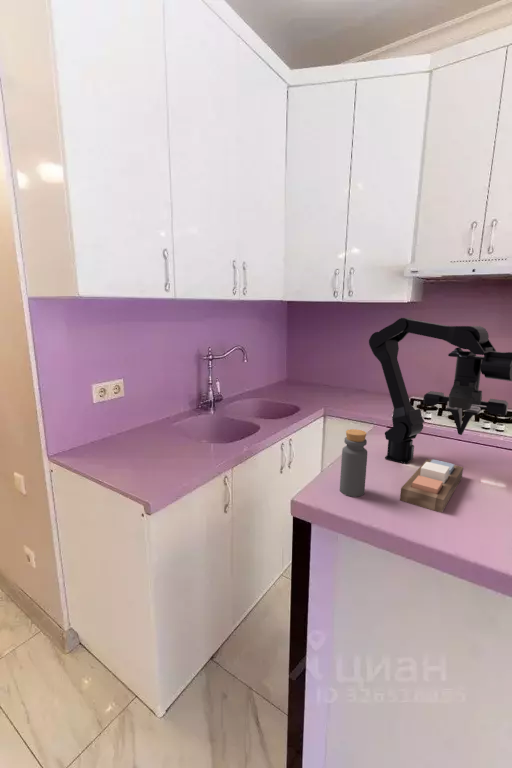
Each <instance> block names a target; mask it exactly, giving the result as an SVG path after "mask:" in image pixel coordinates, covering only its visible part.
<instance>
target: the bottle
mask: <svg viewBox="0 0 512 768" xmlns="http://www.w3.org/2000/svg"><path fill="white" fill-rule="evenodd" d="M345 434H346V437H344V439H343V441H344V443H345V446H344V447H342V450H341V461H340V462H341V463H340V464H341V465H340V477H339V478H340V479H339V492H340V493H341V494H343V495H344V496H348V497H352V498H353V497H354V498H355V497H356V498H358V497H362V496H364V494H365V491H366V489H365V488H366V479H367V466H368V465H367V463H368V450H367V448H365V446H366V445H367V444H368V443H367V439H366V436H367V432H366V431H364V430H362V429H357V428H356V429H353V428H352V429H347V430H346V431H345Z"/></svg>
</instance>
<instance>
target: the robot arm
mask: <svg viewBox="0 0 512 768" xmlns="http://www.w3.org/2000/svg"><path fill="white" fill-rule="evenodd" d="M408 334H413V335H419V336H423V337H427V338H428V337H429V338H433V339H438V340H442V341H445V342H446V343H449V344H450V345H453V346H455V348H454V349H453V350H452V351H451V352H449V353H448V354H447V355H448V357H452V358H456V362H455V371H454V379H453V385H452V387H451V389H450V392H449V394H448V396H446V395H445V394H444V393H445V392H441V391H440V392H439V391H434V390H430V391H428V392H427V393H425V394H424V396H423V399H422V404H423V405H429V406H436V405H438V404H439V403H440V404H441V403H442V404H446V408H445V410H446V411H449V412H450V413H451V415H452V417H453V419H454V423H455V426H456V427H455V428H456V430H457V435H460V436H462V435H463V433H464V432H465V429H466V428H467V426H468V424H469V422H470V420H471V419H472V417H473V416H474V415H479V414H480V413H481V411H482V410H481V409H483V410H486V411H487V412H488V413H489V414H491V415H498V416H507V414H508V407H509V402H508V401H507V400H504V399H498V398H497V399H496V398H490V399H489V400H488V401H485V400H482V398H483V391H482V390H480V384H481V383H480V381H481V375H484V377H485V379H490V380H499V381H506V382H512V351H508V352H507V351H497V350H496V348H495V347H494V345H493V344H492V342H491V340H490V339H489V332H488V330H487V329H486V328H485V327H484V326H480V325H479V326H478V325H446V324H442V323H441V324H440V323H435V322H431V321H430V322H429V321H422V320H418V319H414V318H411V317H400V318H399V319H397V320H396V321H394V322H393V323H391V324H389V325H388V326H385V327H383V328H382V329H380V330H379V331H375V332H374V333H372V334H371V335H370V338H369V339H368V345H369V348H370V350H371V352H372V354H373V356H374V357H375V358H376V359H377V360H378V362H380V365H381V369H382V372H383V377H384V379H385V382H386V386H387V388H388V393H389V397H390V399H391V403H392V406H393V411H392V418H391V420H392V427H390V428H389V429H387V430H386V431H385V432H384V437H385V440H386V441H387V454H386V455H385V456H384V459H385V460H389V461H394V462H398V463H402V464H408V463H409V462H411V461H412V460H413V459H414V453H415V452H414V451H415V445H414V443H413V442H414V440H413V439H416V438H417V435H419V434H420V433H421V432H422V431H423V429H424V423H425V419H423V415H422V411H421V409H420V408H416V409H415V407H414V406H413V405H412V404H411V400H410V398H409V393H408V391H407V387H406V384H405V381H404V378H403V377H404V376H403V374H402V371H401V366H400V365H399V364H400V363H399V360H398V354H399V348H400V347H399V342H402V340H404V339H405V338H406V336H407V335H408ZM467 350H468V351H467ZM463 411H464V414H463Z"/></svg>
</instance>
